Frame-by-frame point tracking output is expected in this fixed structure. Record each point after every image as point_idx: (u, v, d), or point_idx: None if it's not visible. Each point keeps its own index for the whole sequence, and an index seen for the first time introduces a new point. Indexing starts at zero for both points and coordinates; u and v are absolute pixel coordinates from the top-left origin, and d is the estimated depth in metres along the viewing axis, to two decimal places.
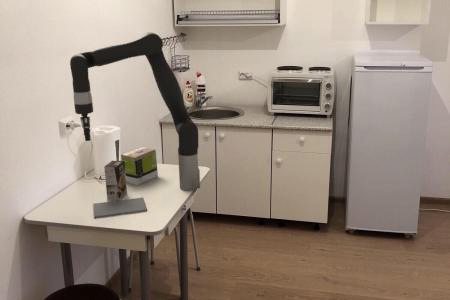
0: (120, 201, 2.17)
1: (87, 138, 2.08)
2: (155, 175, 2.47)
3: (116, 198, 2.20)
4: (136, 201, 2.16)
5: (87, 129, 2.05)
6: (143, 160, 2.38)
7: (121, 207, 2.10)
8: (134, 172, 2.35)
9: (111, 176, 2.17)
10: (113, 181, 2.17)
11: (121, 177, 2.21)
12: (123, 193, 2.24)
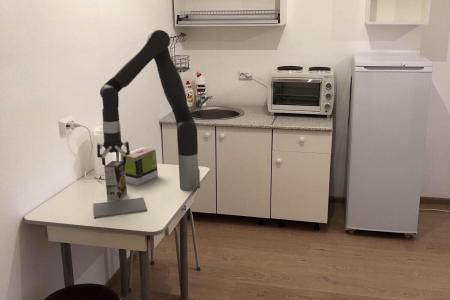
0: (120, 201, 2.17)
1: None
2: (155, 175, 2.47)
3: (116, 198, 2.20)
4: (136, 201, 2.16)
5: None
6: (143, 160, 2.38)
7: (121, 207, 2.10)
8: (134, 172, 2.35)
9: (111, 176, 2.17)
10: (113, 181, 2.18)
11: (121, 178, 2.21)
12: (123, 193, 2.24)
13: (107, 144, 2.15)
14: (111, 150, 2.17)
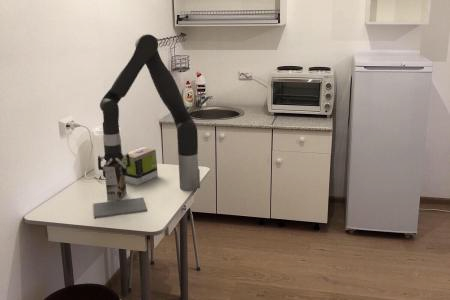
0: (120, 201, 2.17)
1: (126, 172, 2.22)
2: (155, 175, 2.47)
3: (116, 198, 2.20)
4: (136, 201, 2.16)
5: None
6: (143, 160, 2.38)
7: (121, 207, 2.10)
8: (134, 172, 2.35)
9: (111, 176, 2.17)
10: (113, 181, 2.18)
11: (121, 177, 2.21)
12: (123, 193, 2.24)
13: (108, 156, 2.17)
14: (112, 162, 2.18)
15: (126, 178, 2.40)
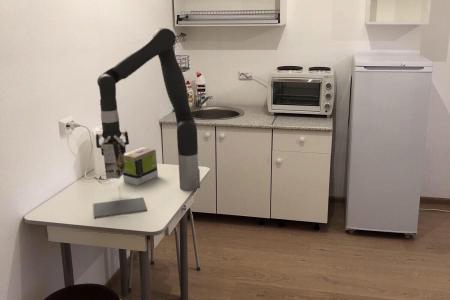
0: (120, 201, 2.17)
1: None
2: (155, 175, 2.47)
3: (115, 176, 2.17)
4: (136, 201, 2.16)
5: None
6: (143, 160, 2.38)
7: (121, 207, 2.10)
8: (134, 172, 2.35)
9: (110, 154, 2.14)
10: (112, 159, 2.14)
11: (120, 155, 2.18)
12: (122, 171, 2.21)
13: (106, 134, 2.14)
14: (110, 140, 2.15)
15: (126, 178, 2.40)
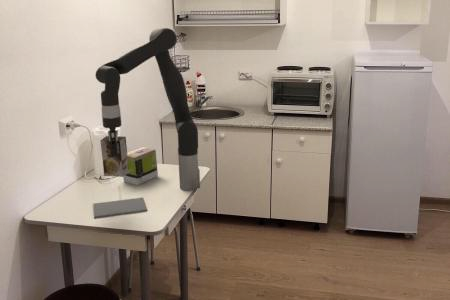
0: (120, 201, 2.17)
1: None
2: (155, 175, 2.47)
3: (127, 171, 2.08)
4: (136, 201, 2.16)
5: None
6: (143, 160, 2.38)
7: (121, 207, 2.10)
8: (134, 172, 2.35)
9: (124, 149, 2.04)
10: (125, 153, 2.05)
11: None
12: None
13: (115, 130, 2.00)
14: None
15: (126, 178, 2.40)
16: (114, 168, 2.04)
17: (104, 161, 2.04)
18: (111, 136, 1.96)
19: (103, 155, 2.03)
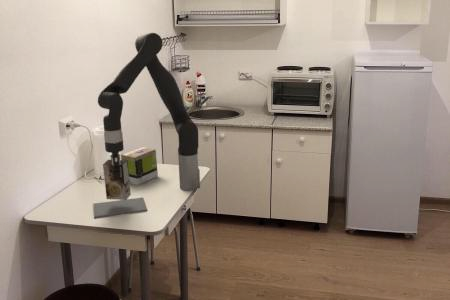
0: (120, 201, 2.17)
1: None
2: (155, 175, 2.47)
3: (129, 193, 2.11)
4: (136, 201, 2.16)
5: None
6: (143, 160, 2.38)
7: (121, 207, 2.10)
8: (134, 172, 2.35)
9: (126, 172, 2.06)
10: (127, 176, 2.08)
11: None
12: None
13: (118, 154, 2.02)
14: None
15: None
16: (116, 191, 2.06)
17: (107, 185, 2.06)
18: (114, 161, 1.98)
19: (106, 179, 2.05)
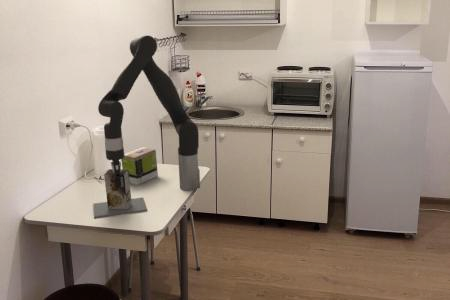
0: None
1: None
2: (155, 175, 2.47)
3: (130, 203, 2.12)
4: (136, 201, 2.16)
5: None
6: (143, 160, 2.38)
7: None
8: (134, 172, 2.35)
9: (127, 181, 2.08)
10: (128, 186, 2.09)
11: None
12: None
13: (118, 162, 2.03)
14: None
15: None
16: (118, 201, 2.07)
17: (108, 194, 2.07)
18: (115, 168, 1.99)
19: (107, 189, 2.06)
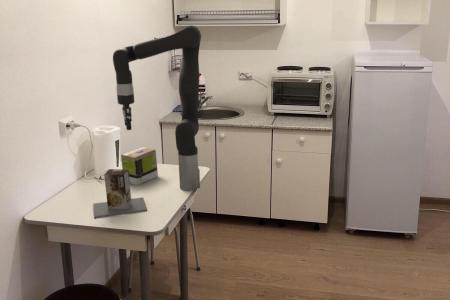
0: None
1: None
2: (155, 175, 2.47)
3: (130, 203, 2.12)
4: (136, 201, 2.16)
5: None
6: (143, 160, 2.38)
7: None
8: (134, 172, 2.35)
9: (127, 181, 2.08)
10: (128, 186, 2.09)
11: None
12: None
13: None
14: None
15: None
16: (118, 201, 2.07)
17: (108, 194, 2.07)
18: (126, 111, 2.16)
19: (107, 189, 2.06)
